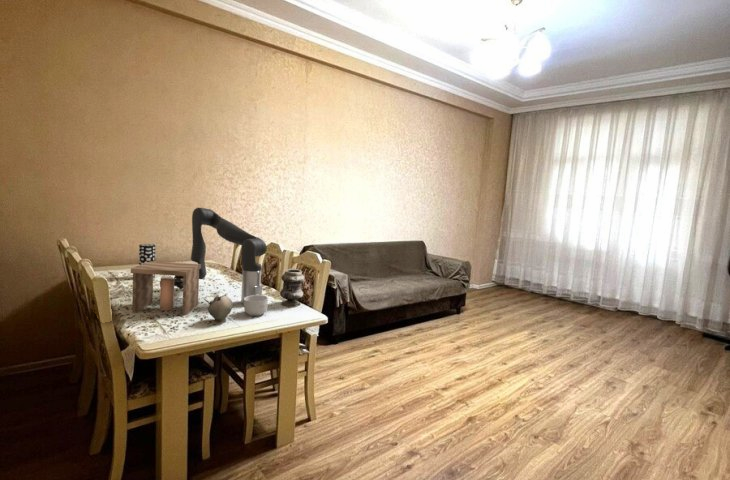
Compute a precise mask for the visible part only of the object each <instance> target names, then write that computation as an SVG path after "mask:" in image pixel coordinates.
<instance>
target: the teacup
mask: <svg viewBox="0 0 730 480" xmlns="http://www.w3.org/2000/svg"><path fill="white" fill-rule="evenodd" d="M268 300H269V297H268V296H267V295H263V294H262V295H259V294H256V295H251V296H247V297H245V298H244V304H243V307H244V311H245V313H246V314H248V315H249V316H251V317H258V316H262V315H263V314H264V313H265V312H267V310H268V303H269V302H268Z"/></svg>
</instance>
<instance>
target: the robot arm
mask: <svg viewBox="0 0 730 480" xmlns="http://www.w3.org/2000/svg"><path fill="white" fill-rule="evenodd" d="M191 223H192V224H191V228H192V229H191V231H192V233H191V234H192V246H191V247H192V248H191V255H190V261H192V262H194V263H196V264H201V269H199V280H204V279H205V277H206V276H207V269H206V262H205V260H206V249H207V246H206V242H205V240H204V236H203V234H202V226H209V227H212V228H214V229H215V230H216V233H217V234H218V235H219V237H221V238H222V239H223V240H225V241H227V242H229V243H232V244H236V245H240V246H241V251H240V252H241V266H242V276H241V277H242V278H241V280H242V281H241V297H240V298H241V300H240V301H241V302H240V303H241V304H243V305H244V298H245V297H247V296H251V295H256V294H259V295H263V284H262V268H263V267H262V264H261V263H258V262H257V261H256V257H260V256H263V255H265V254H266V252H267V249H268V248H267V244H266V241H264V240H263V239H262V238H259V237H257V236H255V235H253V234H250V233H248V232H247V231H245V230H244V229H242V228H240V227H239V226H237V225H236V224H235V223H232V222H230V221H229V220H227V219H225V218H223V217H221V216H220V215H219V214H218V213H216V211H214V210H212V209H209V208H204V207H196V208H194V209H193V211H192V215H191ZM173 278H174V287H176V288H179V290H183V276H174V277H173ZM160 286H161V280H159V287H160Z"/></svg>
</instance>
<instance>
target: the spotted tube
mask: <svg viewBox="0 0 730 480" xmlns="http://www.w3.org/2000/svg"><path fill="white" fill-rule="evenodd" d="M150 261H156V244H151V243H141V244H139V246H138V266H139V265H141V264H144V263H147V262H150ZM155 278H156V274H153V280H154V279H155Z"/></svg>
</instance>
